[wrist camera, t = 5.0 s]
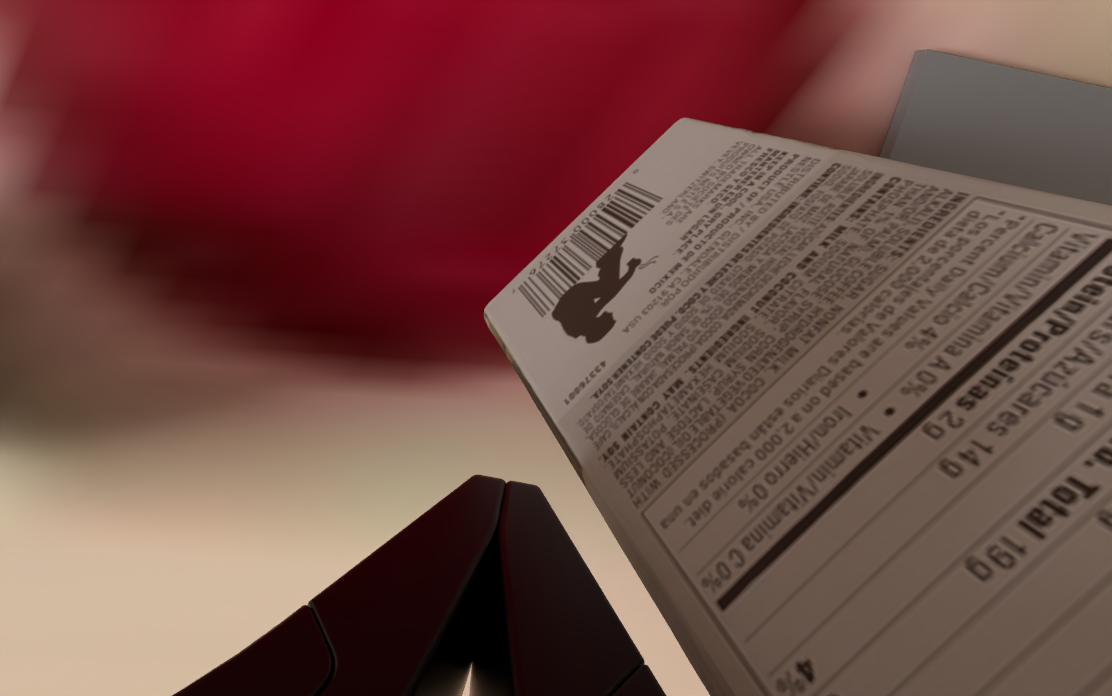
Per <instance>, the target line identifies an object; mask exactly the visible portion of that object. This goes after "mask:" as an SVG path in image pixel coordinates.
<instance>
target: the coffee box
mask: <svg viewBox="0 0 1112 696" xmlns="http://www.w3.org/2000/svg"><path fill="white" fill-rule="evenodd" d="M484 318H485V321H486V323H487V325H488V328H489V329H490V331H491V332H492V334H493V335H494V337H495V338H496V340H497V342H498V343H499V345H500V346H501V348H502V350H503V351H504V353H505V354H506V356H507V358H508V359H509V361H510V363H511V364H512V366H513V367H514V369H515V371H516V372H517V374H518V375H519V377H520V379H521V380H522V382H523V383H524V385H525V387H526V388H527V390H528V392H529V394H530V395H531V397H532V399H533V401H534V402H535V404H536V406H537V408H538V409H539V411H540V412H541V414H542V416H543V417H544V419H545V421H546V422H547V424H548V426H549V427H550V429H551V431H552V432H553V434H554V436H555V437H556V439H557V440H558V442H559V444H560V445H561V447H562V449H563V450H564V452H565V454H566V456H567V457H568V459H569V461H570V462H571V464H572V466H573V467H574V469H575V471H576V472H577V474H578V476H579V477H580V479H581V480H582V482H583V484H584V485H585V487H586V489H587V491H588V492H589V494H590V496H591V498H592V499H593V501H594V503H595V504H596V506H597V508H598V509H599V511H600V513H601V514H602V516H603V518H604V520H605V521H606V523H607V525H608V526H609V528H610V530H611V531H612V533H613V535H614V536H615V538H616V540H617V541H618V543H619V545H620V546H621V548H622V550H623V551H624V553H625V555H626V556H627V558H628V560H629V561H630V563H631V565H632V566H633V568H634V569H635V571H636V573H637V574H638V576H639V578H640V579H641V581H642V583H643V584H644V586H645V588H646V589H647V591H648V593H649V594H650V596H651V598H652V599H653V601H654V602H655V604H656V606H657V607H658V609H659V611H660V612H661V614H662V616H663V617H664V619H665V621H666V622H667V624H668V626H669V627H670V629H671V630H672V632H673V634H674V636H675V637H676V639H677V641H678V643H679V644H680V646H681V648H682V649H683V651H684V653H685V655H686V656H687V658H688V660H689V661H690V663H691V665H692V666H693V668H694V670H695V671H696V673H697V674H698V676H699V678H700V679H701V681H702V683H703V684H704V686H705V687H706V689H707V691H708V692H709V694H710V696H1112V206H1110V205H1105V204H1101V203H1096V202H1091V201H1086V200H1081V199H1076V198H1071V197H1066V196H1062V195H1057V194H1052V193H1047V192H1042V191H1037V190H1032V189H1028V188H1023V187H1018V186H1013V185H1008V184H1003V183H999V182H994V181H989V180H984V179H979V178H975V177H970V176H965V175H961V174H956V173H951V172H946V171H941V170H937V169H932V168H927V167H922V166H918V165H913V164H908V163H903V162H899V161H894V160H890V159H885V158H881V157H876V156H871V155H867V154H862V153H857V152H852V151H847V150H844V149H835V148H831V147H827V146H820V145H818V144H813V143H807V142H802V141H798V140H794V139H787V138H782V137H778V136H772V135H769V134H765V133H757V132H753V131H749V130H746V129H739V128H732V127H728V126H723V125H718V124H714V123H709V122H705V121H700V120H695V119H690V118H681V119H680V120H678V121H677V122H675V123H674V124H673V125H672V126H671V127H670V128H669V129H668V130H667V131H666V132H665V133H664V134H663V135H662V136H661V137H660V138H659V139H658V140H657V141H656V142H655V143H654V144H653V145H652V146H651V147H649V148H648V149H647V150H646V151H645V152H644V153H643V154H642V155H641V156H640V157H639V158H638V159H637V160H636V161H635V162H634V163H633V164H632V165H631V166H630V167H629V168H628V169H627V170H626V171H625V172H624V173H623V174H621V175H620V176H619V177H618V178H617V179H616V180H615V181H614V182H613V183H612V184H611V185H610V186H609V187H608V188H607V189H606V190H605V191H604V192H603V193H602V194H601V195H600V196H599V197H598V198H597V199H596V200H595V201H594V202H593V203H592V204H590V205H589V206H588V207H587V208H586V209H585V210H584V211H583V212H582V213H581V214H580V215H579V216H578V217H577V218H576V219H575V220H574V221H573V222H572V223H571V224H570V225H569V226H568V227H567V228H566V229H565V230H564V231H563V232H562V233H560V234H559V235H558V236H557V237H556V238H555V239H554V240H553V241H552V242H551V243H550V244H549V245H548V246H547V247H546V248H545V249H544V250H543V251H542V252H541V253H540V254H539V255H538V256H537V257H536V258H535V259H534V260H533V261H532V262H531V263H530V264H528V265H527V266H526V267H525V268H524V269H523V270H522V271H521V272H520V273H519V274H518V275H517V276H516V277H515V278H514V279H513V280H512V281H511V282H510V283H509V284H508V285H507V286H506V287H505V288H504V289H503V290H502V291H501V292H500V293H499V294H498V295H497V296H495V297H494V298H493V299H492V300H491V301H490V302H489V303H488V305H487V306H486V307H485V309H484Z"/></svg>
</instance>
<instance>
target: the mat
mask: <svg viewBox="0 0 1112 696" xmlns="http://www.w3.org/2000/svg"><path fill="white" fill-rule="evenodd" d="M879 157H881V158H885V159H890V160H894V161H899V162H903V163H908V164H913V165H918V166H922V167H927V168H932V169H937V170H941V171H946V172H951V173H956V174H961V175H965V176H970V177H975V178H979V179H984V180H989V181H994V182H999V183H1003V184H1008V185H1013V186H1018V187H1023V188H1028V189H1032V190H1037V191H1042V192H1047V193H1052V194H1057V195H1062V196H1066V197H1071V198H1076V199H1081V200H1086V201H1091V202H1096V203H1101V204H1105V205H1110V206H1112V88H1107V87H1102V86H1097V85H1093V84H1088V83H1083V82H1079V81H1074V80H1069V79H1064V78H1060V77H1055V76H1050V75H1046V74H1041V73H1036V72H1031V71H1027V70H1022V69H1017V68H1012V67H1008V66H1003V65H998V64H994V63H989V62H984V61H979V60H975V59H970V58H965V57H961V56H956V55H951V54H946V53H942V52H937V51H932V50H919V51H916V52H915V55H914V58H913V61H912V64H911V67H910V70H909V73H908V75H907V78H906V81H905V84H904V87H903V90H902V93H901V96H900V98H899V101H898V104H897V107H896V110H895V113H894V116H893V119H892V122H891V124H890V127H889V130H888V133H887V136H886V139H885V142H884V145H883V147H882V150H881V153H880V156H879Z"/></svg>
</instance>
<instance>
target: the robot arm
mask: <svg viewBox="0 0 1112 696" xmlns="http://www.w3.org/2000/svg"><path fill="white" fill-rule="evenodd" d="M471 664H472V670H471V681H470V696H666V694H665V693H664V691H663V690H662V688H661V686H660V685H659V683H658V682H657V680H656V678H655V677H654V675H653V673H652V672H651V670H650V668H649V667H648V666H647V665H644V659H643V657H642V656H641V654H640V652H639V651H638V649H637V647H636V646H635V644H634V643H633V641H632V639H631V638H630V636H629V634H628V633H627V631H626V629H625V628H624V626H623V624H622V623H621V621H620V620H619V618H618V616H617V615H616V613H615V611H614V610H613V608H612V606H611V605H610V603H609V601H608V600H607V598H606V596H605V595H604V593H603V592H602V590H601V588H600V587H599V585H598V583H597V582H596V580H595V578H594V577H593V575H592V573H591V572H590V570H589V568H588V567H587V565H586V564H585V562H584V560H583V559H582V557H581V555H580V554H579V552H578V550H577V549H576V547H575V545H574V544H573V542H572V540H571V539H570V537H569V536H568V534H567V532H566V531H565V529H564V527H563V526H562V524H561V522H560V521H559V519H558V517H557V516H556V514H555V512H554V511H553V509H552V508H551V506H550V504H549V503H548V501H547V499H546V498H545V496H544V494H543V493H542V491H541V489H540V488H539V487H538V486H536V485H532V484H526V483H521V482H515V481H509V482H507V483H506V482H505V481H504V480H502V479H499V478H493V477H488V476H483V475H474V476H472V477H471V478H470V479H468V480H467V481H466V482H464V483H463V484H462V485H461V486H459V487H458V488H457V489H455V490H454V491H453V492H451V493H450V494H449V495H448V496H446V497H445V498H444V499H442V500H441V501H440V502H438V503H437V504H436V505H434V506H433V507H432V508H431V509H429V510H428V511H427V512H425V513H424V514H423V515H421V516H420V517H419V518H417V519H416V520H415V521H414V522H412V523H411V524H410V525H408V526H407V527H406V528H404V529H403V530H402V531H401V532H399V533H398V534H397V535H395V536H394V537H393V538H391V539H390V540H389V541H387V542H386V543H385V544H384V545H382V546H381V547H380V548H378V549H377V550H376V551H374V552H373V553H372V554H370V555H369V556H368V557H367V558H365V559H364V560H363V561H361V562H360V563H359V564H357V565H356V566H355V567H353V568H352V569H351V570H350V571H348V572H347V573H346V574H344V575H343V576H342V577H340V578H339V579H338V580H337V581H335V582H334V583H333V584H331V585H330V586H329V587H327V588H326V589H325V590H323V591H322V592H321V593H320V594H318V595H317V596H316V597H314V598H313V599H312V600H310V601H309V603H308V606H307V605H304V606H302V607H301V608H299V609H298V610H297V611H296V612H294V613H293V614H292V615H290V616H289V617H288V618H286V619H285V620H284V621H282V622H281V623H280V624H278V625H277V626H276V627H274V628H273V629H272V630H270V631H269V632H267V633H266V634H265V635H263V636H262V637H260V638H259V639H258V640H256V641H255V642H253V643H252V644H251V645H249V646H248V647H247V648H245V649H244V650H242V651H241V652H240V653H238V654H237V655H235V656H234V657H232V658H230V659H229V660H227V661H226V662H224V663H223V664H221V665H220V666H218V667H216V668H215V669H213V670H212V671H210V672H209V673H207V674H206V675H204V676H202V677H201V678H199V679H198V680H196V681H195V682H193V683H192V684H190V685H188V686H187V687H185V688H184V689H182V690H180V691H179V692H177V693H175V694H174V695H172V696H462V694H463V691H464V687H465V684H466V681H467V678H468V675H469V671H470V668H471Z"/></svg>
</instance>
